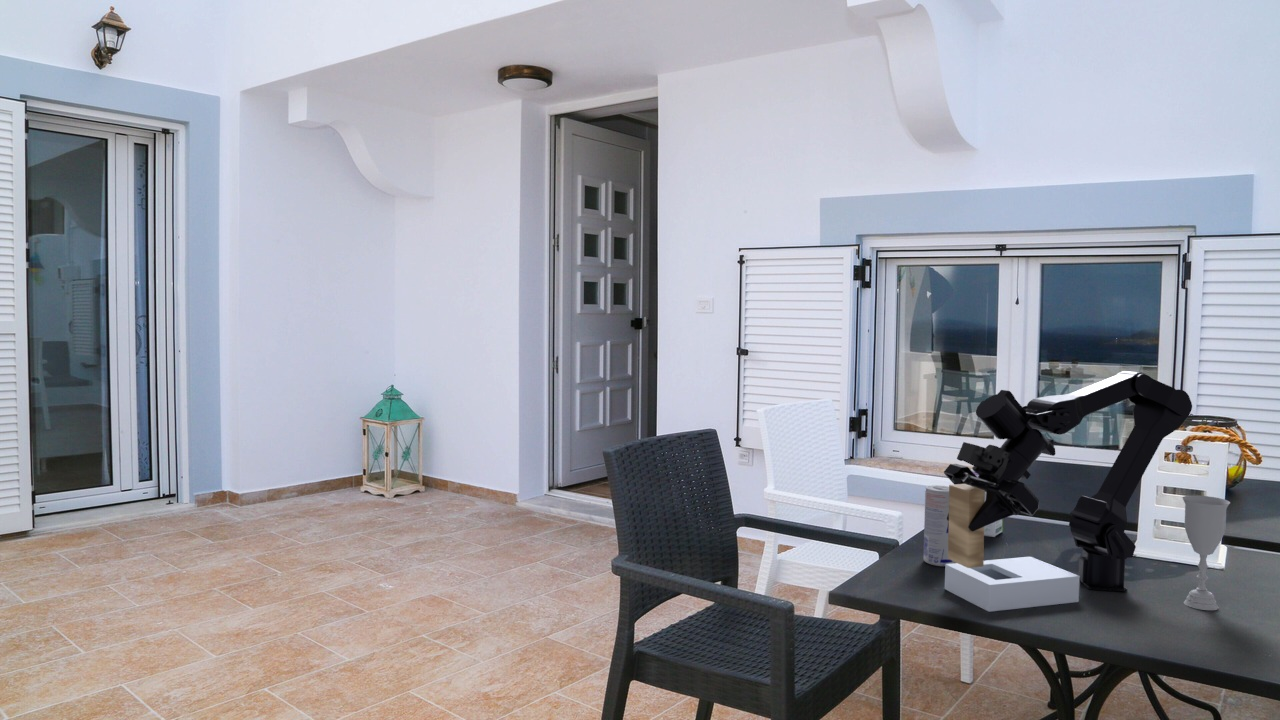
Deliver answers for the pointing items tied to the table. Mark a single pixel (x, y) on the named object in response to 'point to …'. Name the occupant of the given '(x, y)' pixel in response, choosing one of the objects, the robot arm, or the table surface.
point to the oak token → (965, 526)
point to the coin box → (1012, 584)
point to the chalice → (1204, 541)
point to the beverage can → (936, 525)
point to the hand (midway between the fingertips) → (959, 525)
